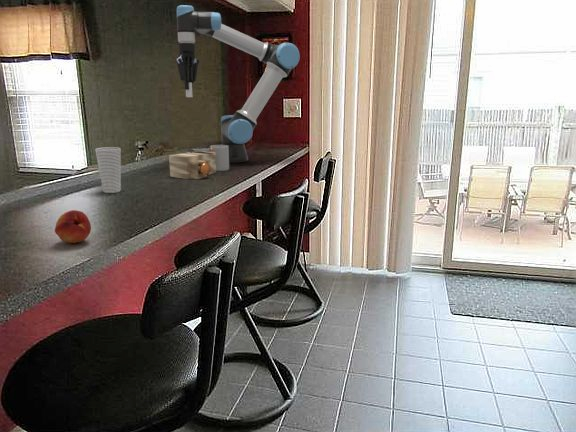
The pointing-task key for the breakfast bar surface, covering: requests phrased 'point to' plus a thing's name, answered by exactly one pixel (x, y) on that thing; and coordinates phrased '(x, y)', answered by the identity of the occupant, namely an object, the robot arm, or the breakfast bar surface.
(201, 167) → the pin
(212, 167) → the block
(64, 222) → the fruit
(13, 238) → the breakfast bar surface
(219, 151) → the mug
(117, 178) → the cup
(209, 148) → the plate
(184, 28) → the robot arm
